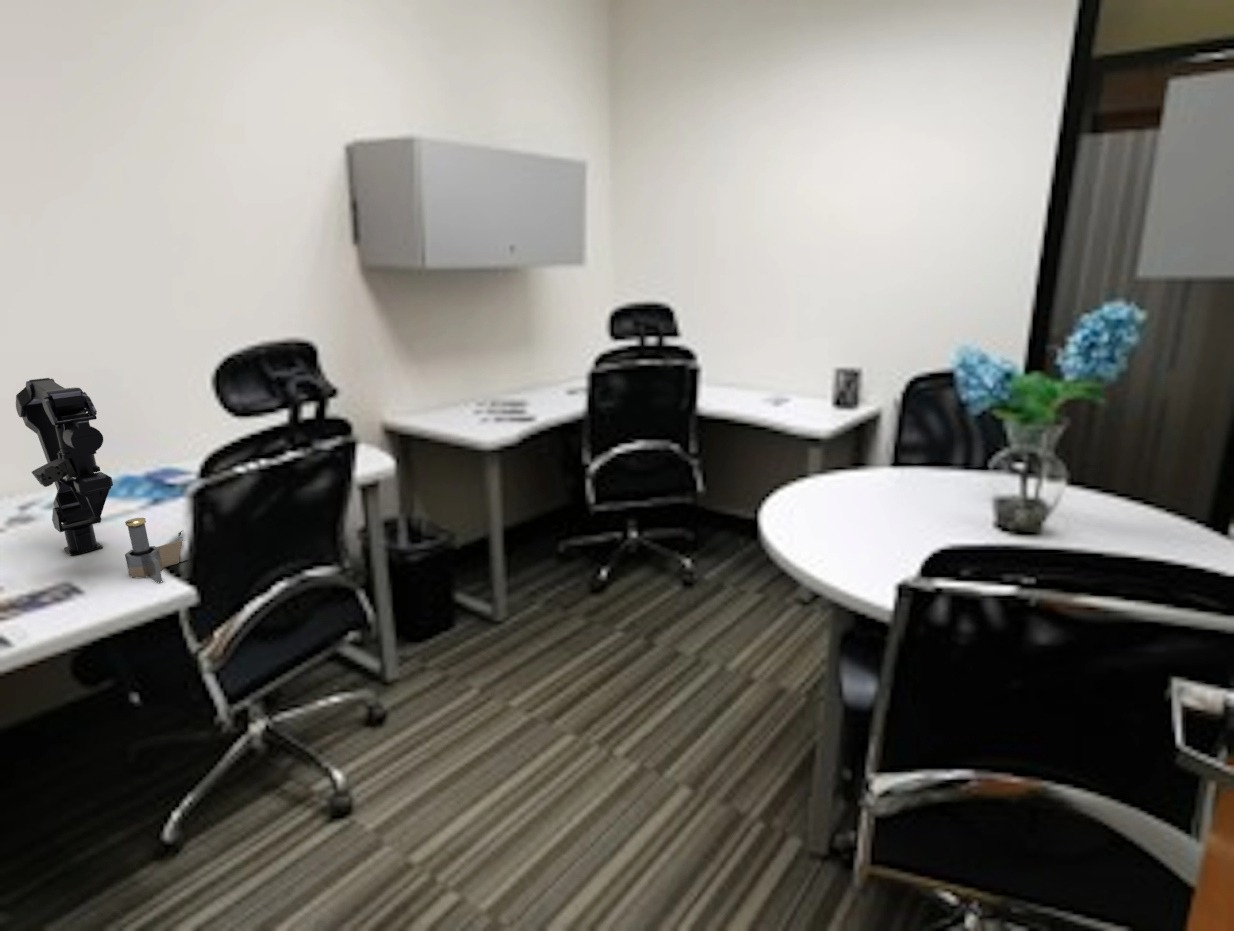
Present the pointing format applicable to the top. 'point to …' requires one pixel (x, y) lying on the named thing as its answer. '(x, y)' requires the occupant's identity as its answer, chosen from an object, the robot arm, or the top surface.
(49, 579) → the top surface
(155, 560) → the bronze hinge
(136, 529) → the hinge pin
